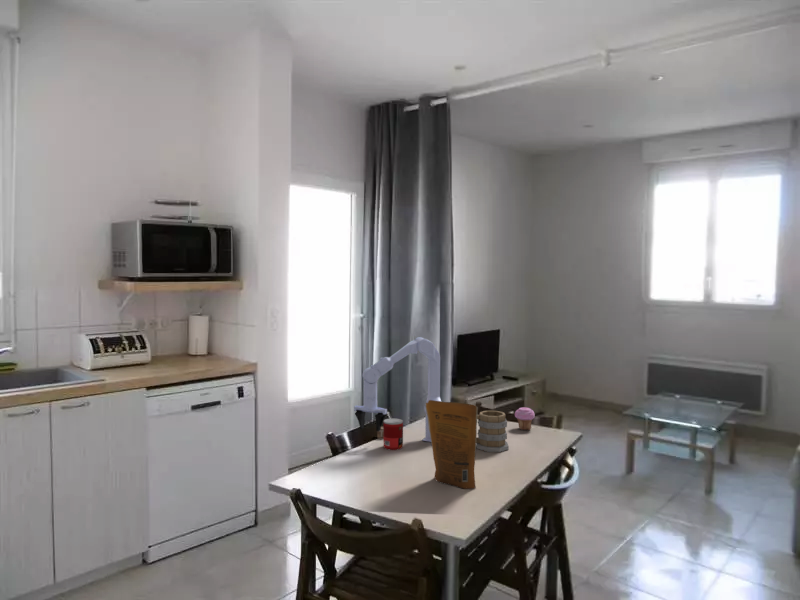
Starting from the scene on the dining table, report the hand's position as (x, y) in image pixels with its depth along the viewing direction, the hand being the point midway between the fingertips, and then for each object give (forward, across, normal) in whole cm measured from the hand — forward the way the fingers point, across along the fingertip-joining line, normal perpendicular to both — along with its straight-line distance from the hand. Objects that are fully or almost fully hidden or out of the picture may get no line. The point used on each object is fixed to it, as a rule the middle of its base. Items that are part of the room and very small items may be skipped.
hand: (370, 429), depth 231 cm
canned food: (+6, +11, 0) cm, 12 cm away
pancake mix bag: (+6, +47, -28) cm, 55 cm away
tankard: (+6, +44, +16) cm, 47 cm away
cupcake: (+6, +53, +51) cm, 74 cm away
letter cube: (+6, 0, +12) cm, 13 cm away
